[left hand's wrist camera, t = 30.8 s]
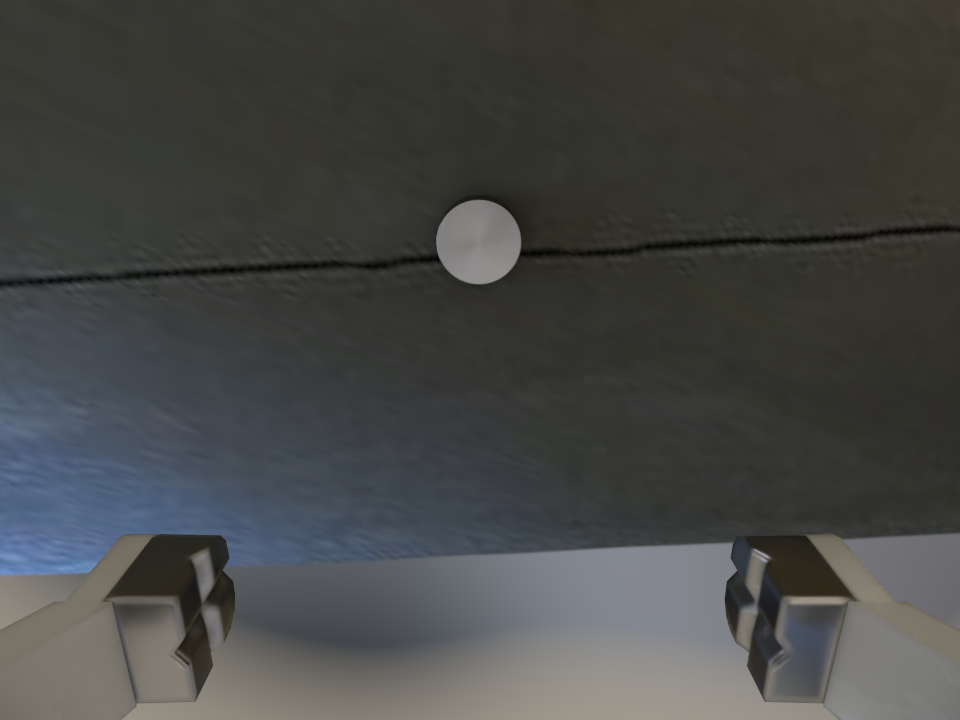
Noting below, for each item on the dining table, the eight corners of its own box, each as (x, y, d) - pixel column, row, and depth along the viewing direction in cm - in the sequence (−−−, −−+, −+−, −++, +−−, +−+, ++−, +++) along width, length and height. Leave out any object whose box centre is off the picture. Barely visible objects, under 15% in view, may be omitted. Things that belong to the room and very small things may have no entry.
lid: (424, 254, 39) (421, 260, 37) (461, 180, 38) (460, 183, 36) (495, 290, 40) (496, 298, 38) (534, 219, 38) (536, 224, 37)
